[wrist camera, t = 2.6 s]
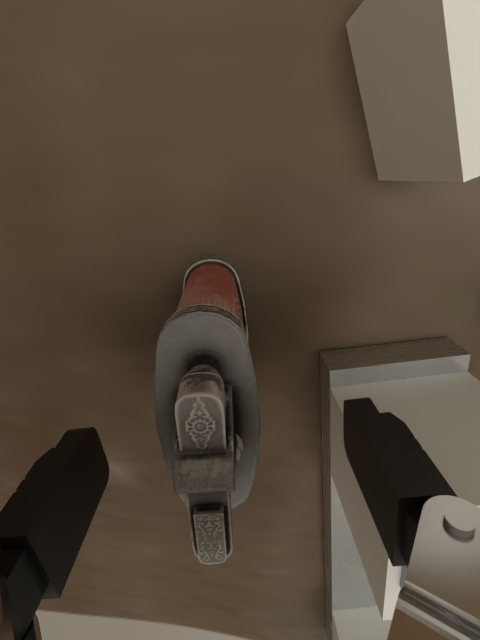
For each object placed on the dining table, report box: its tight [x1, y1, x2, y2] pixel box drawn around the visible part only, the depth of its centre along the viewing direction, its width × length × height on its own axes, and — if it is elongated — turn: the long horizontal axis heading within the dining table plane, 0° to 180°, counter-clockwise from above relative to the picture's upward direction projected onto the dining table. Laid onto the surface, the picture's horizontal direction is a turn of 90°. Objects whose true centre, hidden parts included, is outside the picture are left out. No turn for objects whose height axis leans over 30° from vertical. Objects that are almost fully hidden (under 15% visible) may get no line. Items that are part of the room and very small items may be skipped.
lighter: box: [154, 255, 261, 564], centre depth 13 cm, size 8×3×10 cm, turn 2°
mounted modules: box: [330, 371, 480, 640], centre depth 19 cm, size 7×26×8 cm, turn 6°
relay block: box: [346, 0, 480, 182], centre depth 11 cm, size 5×6×6 cm
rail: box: [320, 337, 471, 640], centre depth 23 cm, size 7×28×2 cm, turn 7°
